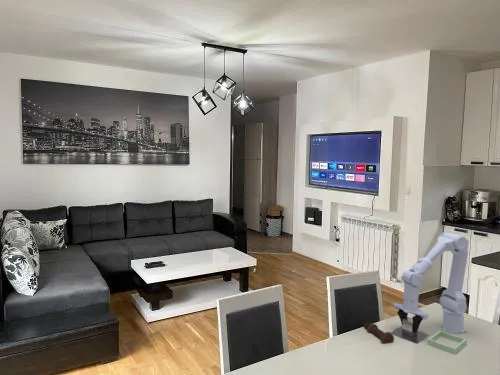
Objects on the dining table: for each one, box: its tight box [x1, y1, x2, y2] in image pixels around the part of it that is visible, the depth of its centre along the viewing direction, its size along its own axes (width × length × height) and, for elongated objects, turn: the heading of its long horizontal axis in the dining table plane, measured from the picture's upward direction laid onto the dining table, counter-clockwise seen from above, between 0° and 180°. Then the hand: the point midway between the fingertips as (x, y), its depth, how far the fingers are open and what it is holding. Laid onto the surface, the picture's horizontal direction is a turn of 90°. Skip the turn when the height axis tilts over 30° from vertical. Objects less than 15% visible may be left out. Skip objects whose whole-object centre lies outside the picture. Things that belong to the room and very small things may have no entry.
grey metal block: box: [401, 316, 417, 337], centre depth 157 cm, size 4×4×6 cm
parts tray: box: [426, 330, 468, 355], centre depth 148 cm, size 12×10×3 cm
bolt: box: [363, 322, 395, 345], centre depth 156 cm, size 6×5×15 cm
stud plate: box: [390, 325, 430, 345], centre depth 157 cm, size 12×12×3 cm
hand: (409, 329), depth 157 cm, fingers closed on grey metal block, 4 cm apart
